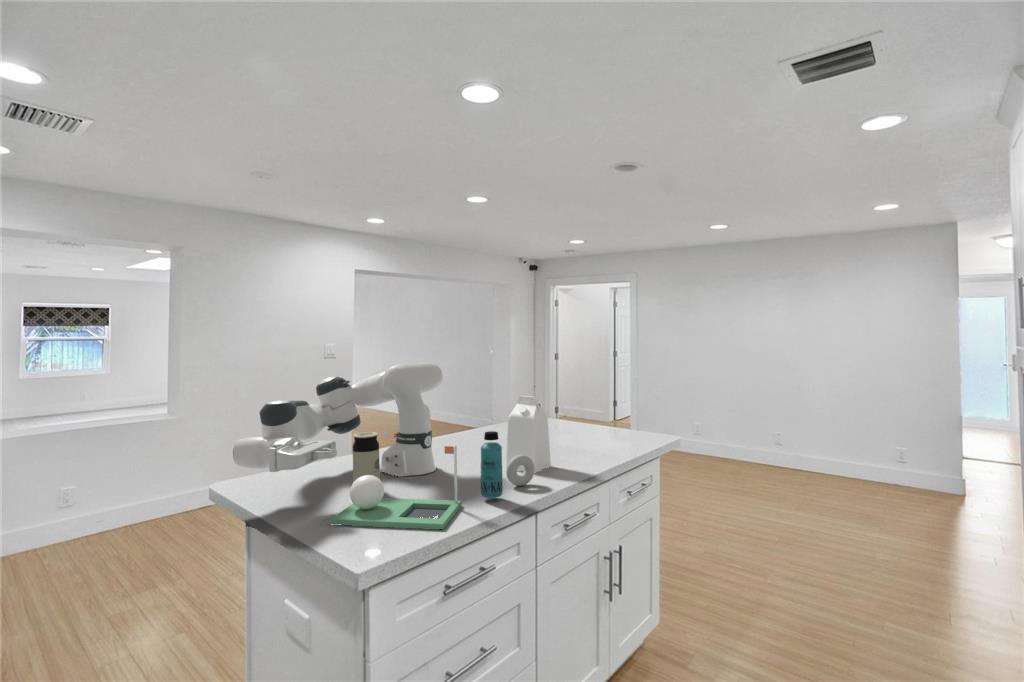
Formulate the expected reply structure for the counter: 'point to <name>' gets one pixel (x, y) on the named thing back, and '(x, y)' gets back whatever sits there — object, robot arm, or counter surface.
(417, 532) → the counter surface
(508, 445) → the milk
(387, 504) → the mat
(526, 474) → the donut
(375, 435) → the travel mug
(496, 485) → the beverage bottle
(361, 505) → the ball
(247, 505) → the counter surface
